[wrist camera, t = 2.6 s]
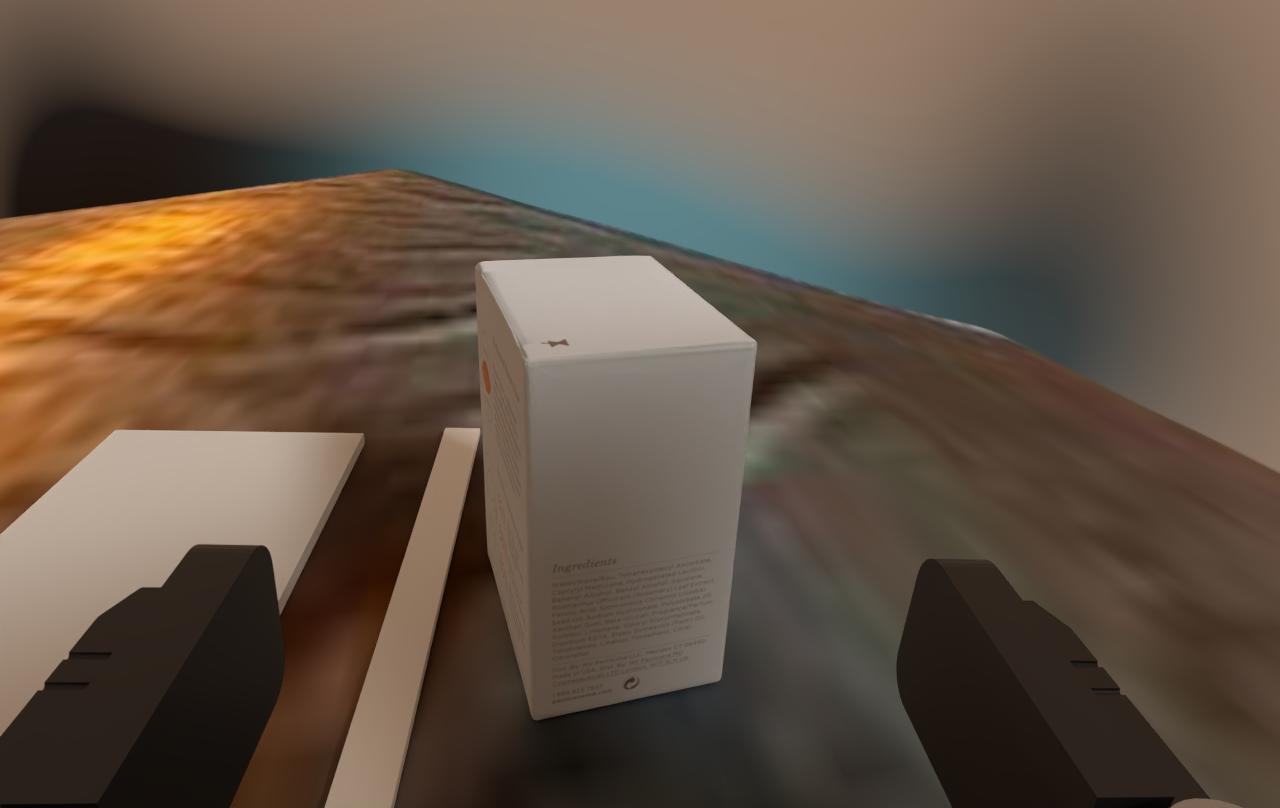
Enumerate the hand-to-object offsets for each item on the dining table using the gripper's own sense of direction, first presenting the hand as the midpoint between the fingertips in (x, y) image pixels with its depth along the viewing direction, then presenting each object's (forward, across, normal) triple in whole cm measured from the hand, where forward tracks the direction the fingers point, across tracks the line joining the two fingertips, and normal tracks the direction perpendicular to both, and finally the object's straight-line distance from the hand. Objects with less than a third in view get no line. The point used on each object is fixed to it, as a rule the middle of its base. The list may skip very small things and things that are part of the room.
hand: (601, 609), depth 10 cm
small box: (+13, 0, +10) cm, 16 cm away
